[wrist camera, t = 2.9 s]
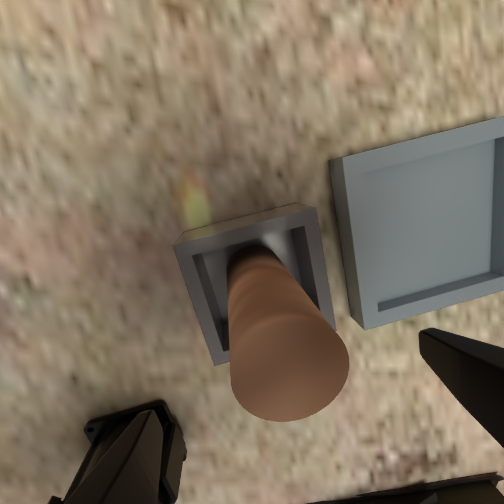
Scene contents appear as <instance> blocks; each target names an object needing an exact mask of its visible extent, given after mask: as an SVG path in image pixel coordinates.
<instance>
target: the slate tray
mask: <svg viewBox="0 0 504 504" xmlns="http://www.w3.org/2000/svg"><path fill="white" fill-rule="evenodd" d="M329 167H330V174H331V181H332V188H333V195H334V202H335V209H336V215H337V222H338V229H339V236H340V243H341V250H342V257H343V264H344V271H345V277H346V284H347V291H348V298H349V305H350V312H351V317H352V318H353V319H354V320H355V321H356V322H357V323H358V324H359V325H360V326H361V327H362V328H363V329H364V330H368V329H371V328H375V327H378V326H382V325H385V324H389V323H392V322H395V321H399V320H402V319H406V318H409V317H413V316H416V315H420V314H423V313H427V312H430V311H434V310H437V309H441V308H444V307H448V306H451V305H455V304H458V303H461V302H465V301H468V300H472V299H475V298H479V297H482V296H486V295H489V294H493V293H496V292H500V291H503V290H504V116H502V117H498V118H494V119H490V120H486V121H482V122H478V123H475V124H471V125H467V126H463V127H459V128H455V129H451V130H447V131H443V132H439V133H435V134H431V135H427V136H424V137H420V138H416V139H412V140H408V141H404V142H400V143H396V144H392V145H388V146H384V147H380V148H376V149H373V150H369V151H365V152H361V153H357V154H353V155H349V156H345V157H341V158H337V159H333V160H329Z"/></svg>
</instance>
